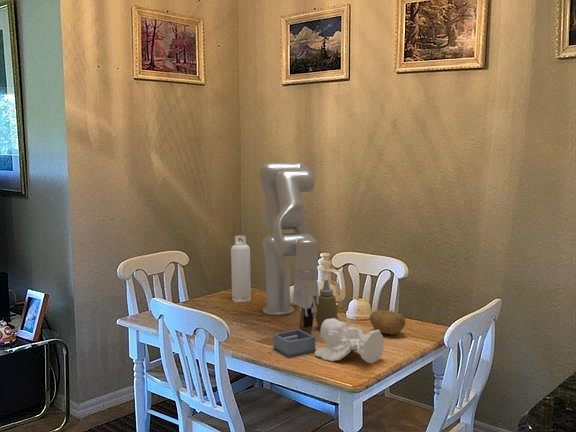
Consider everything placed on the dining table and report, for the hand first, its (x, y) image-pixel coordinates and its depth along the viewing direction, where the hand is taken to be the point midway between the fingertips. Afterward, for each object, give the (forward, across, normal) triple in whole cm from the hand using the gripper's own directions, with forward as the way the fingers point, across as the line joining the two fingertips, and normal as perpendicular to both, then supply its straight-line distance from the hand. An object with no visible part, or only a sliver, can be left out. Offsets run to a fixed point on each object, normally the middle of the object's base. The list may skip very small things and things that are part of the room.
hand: (306, 325), depth 209 cm
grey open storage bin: (+4, +9, -10) cm, 14 cm away
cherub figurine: (+4, +23, +1) cm, 24 cm away
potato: (+5, +11, +27) cm, 29 cm away
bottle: (+6, -58, +3) cm, 59 cm away
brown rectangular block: (+3, 0, -1) cm, 4 cm away
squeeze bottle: (+5, -5, +12) cm, 14 cm away
